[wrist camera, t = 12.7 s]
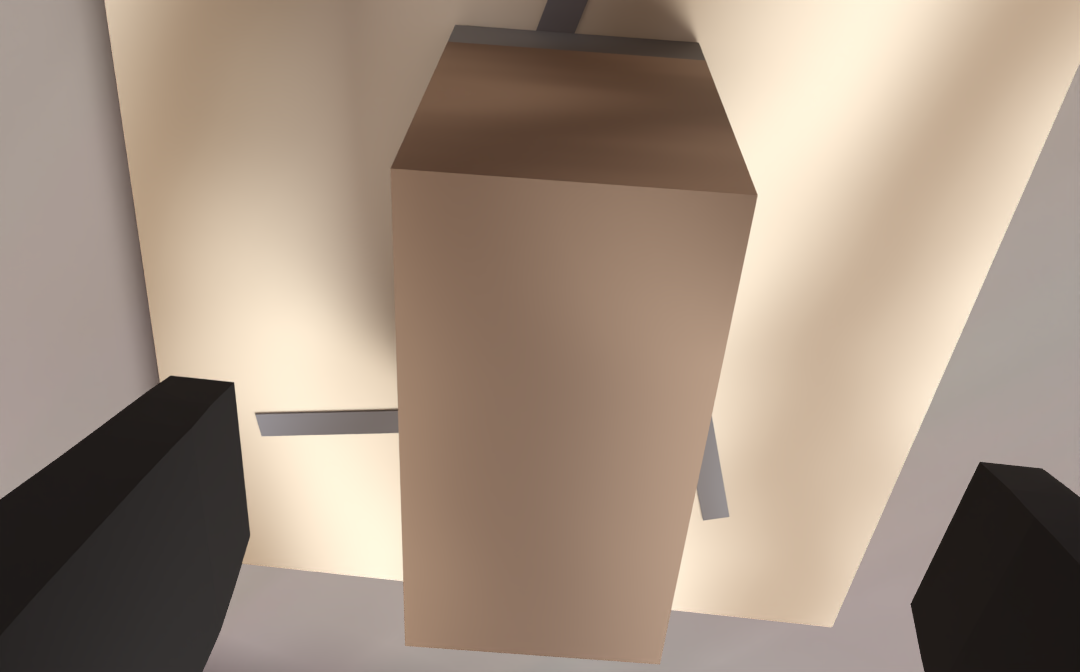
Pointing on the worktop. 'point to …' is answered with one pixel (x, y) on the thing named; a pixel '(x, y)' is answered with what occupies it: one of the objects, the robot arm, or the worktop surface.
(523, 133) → the block
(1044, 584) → the robot arm
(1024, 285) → the worktop surface
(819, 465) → the board
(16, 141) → the worktop surface
